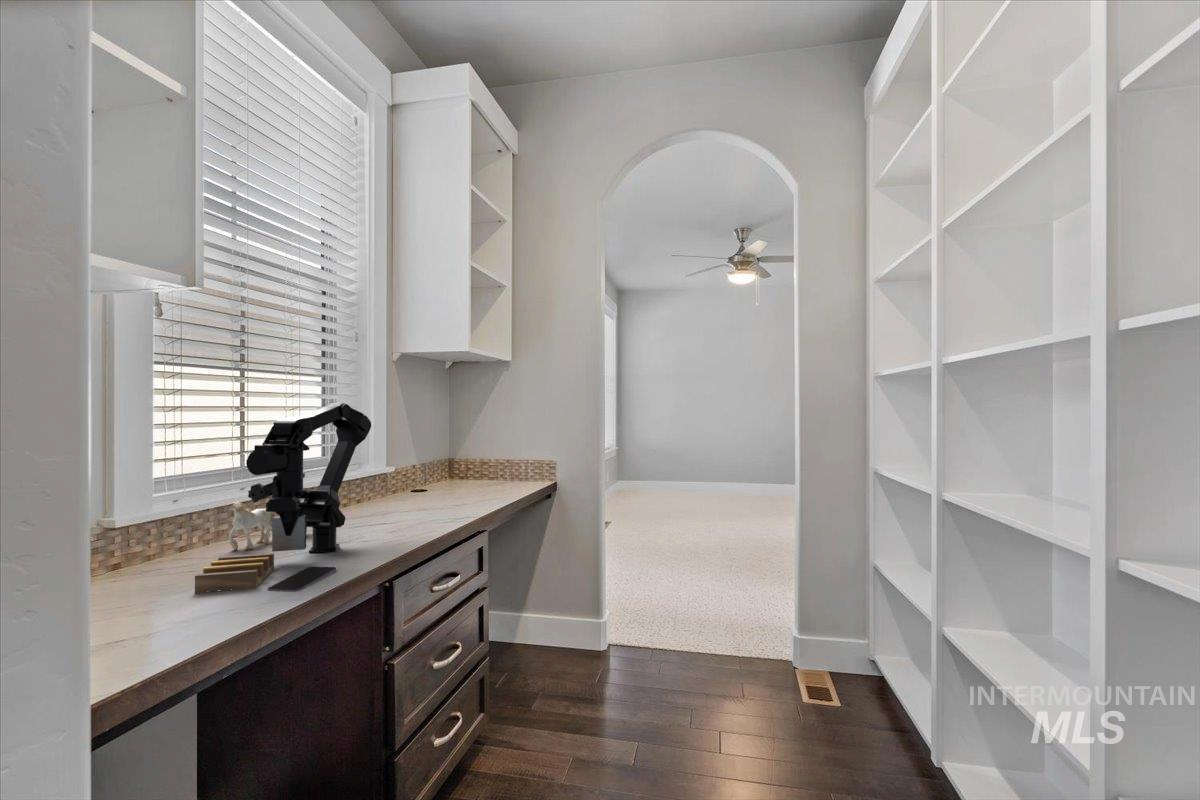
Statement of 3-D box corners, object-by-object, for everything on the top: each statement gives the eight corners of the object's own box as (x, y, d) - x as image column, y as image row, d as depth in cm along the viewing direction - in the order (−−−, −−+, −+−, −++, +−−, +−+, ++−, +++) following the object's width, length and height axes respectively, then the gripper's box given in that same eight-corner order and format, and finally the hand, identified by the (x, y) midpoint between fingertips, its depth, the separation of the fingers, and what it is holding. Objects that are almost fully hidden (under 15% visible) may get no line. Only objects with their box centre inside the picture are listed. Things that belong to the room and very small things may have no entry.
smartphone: (264, 589, 118) (309, 566, 133) (264, 594, 118) (309, 570, 133) (297, 590, 117) (338, 567, 132) (297, 595, 117) (338, 571, 132)
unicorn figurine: (214, 558, 142) (214, 504, 142) (253, 539, 161) (253, 492, 162) (245, 557, 143) (245, 504, 143) (280, 539, 162) (280, 492, 162)
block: (274, 549, 138) (274, 516, 138) (306, 547, 140) (306, 515, 140) (272, 551, 136) (272, 518, 136) (304, 549, 138) (304, 516, 138)
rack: (220, 572, 130) (220, 555, 130) (273, 568, 134) (274, 551, 134) (194, 593, 116) (194, 574, 116) (255, 588, 119) (255, 569, 119)
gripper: (262, 467, 145) (262, 528, 145) (240, 476, 127) (239, 546, 127) (311, 465, 148) (310, 526, 148) (295, 474, 130) (295, 542, 130)
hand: (289, 534), depth 138 cm, fingers closed on block, 2 cm apart
